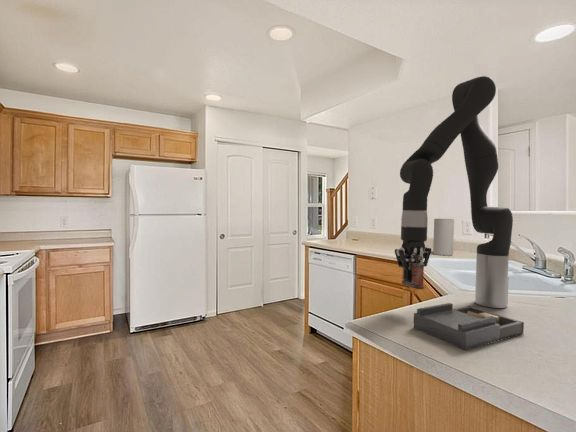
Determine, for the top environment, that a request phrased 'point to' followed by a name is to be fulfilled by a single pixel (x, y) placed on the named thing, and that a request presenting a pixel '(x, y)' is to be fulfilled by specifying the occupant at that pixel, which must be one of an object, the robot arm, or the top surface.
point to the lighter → (415, 274)
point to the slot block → (456, 326)
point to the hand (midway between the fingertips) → (412, 280)
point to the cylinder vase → (443, 237)
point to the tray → (500, 323)
